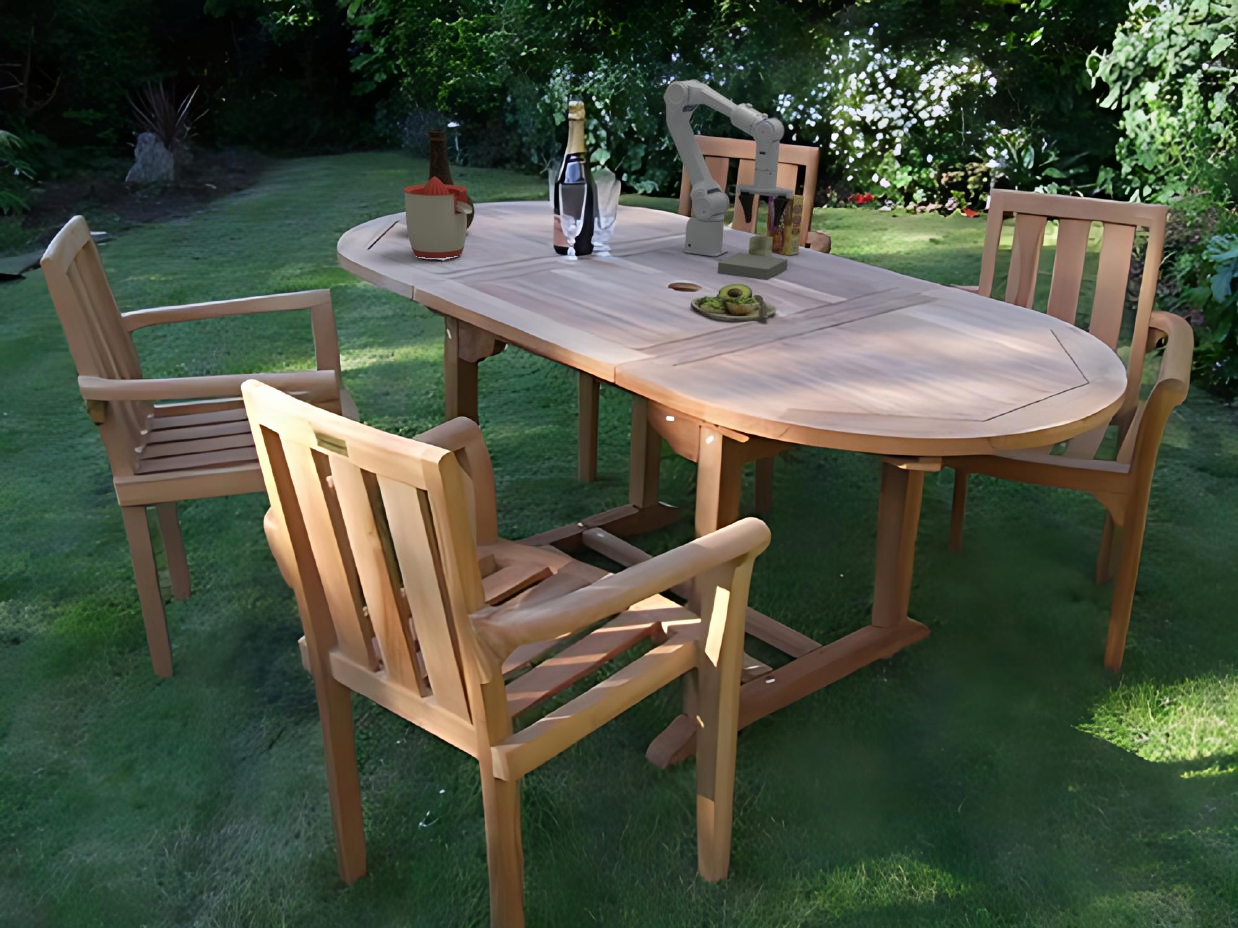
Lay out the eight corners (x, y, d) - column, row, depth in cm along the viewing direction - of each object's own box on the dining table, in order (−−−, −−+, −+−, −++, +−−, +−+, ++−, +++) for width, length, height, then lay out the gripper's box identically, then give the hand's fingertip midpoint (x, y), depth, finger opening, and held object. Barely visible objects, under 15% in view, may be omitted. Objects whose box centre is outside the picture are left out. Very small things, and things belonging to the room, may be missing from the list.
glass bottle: (477, 228, 318) (474, 127, 307) (472, 241, 301) (469, 134, 290) (414, 228, 317) (408, 126, 306) (406, 240, 300) (400, 133, 289)
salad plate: (798, 321, 234) (800, 300, 233) (723, 330, 228) (725, 308, 226) (751, 299, 251) (753, 279, 249) (681, 306, 244) (682, 286, 242)
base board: (717, 272, 273) (718, 262, 272) (738, 262, 283) (739, 253, 282) (767, 279, 267) (767, 269, 266) (786, 269, 278) (787, 259, 277)
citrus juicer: (455, 266, 273) (452, 183, 266) (395, 259, 279) (390, 178, 271) (486, 254, 287) (483, 175, 279) (427, 248, 293) (423, 170, 285)
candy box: (799, 254, 294) (804, 195, 288) (788, 256, 292) (793, 197, 286) (775, 248, 301) (779, 191, 295) (764, 250, 298) (768, 192, 292)
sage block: (748, 261, 285) (749, 238, 283) (754, 258, 289) (756, 235, 287) (764, 263, 283) (766, 240, 281) (771, 260, 287) (772, 237, 285)
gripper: (732, 168, 277) (729, 223, 283) (787, 174, 271) (783, 230, 276) (744, 165, 283) (740, 219, 288) (797, 170, 277) (793, 225, 282)
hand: (762, 224), depth 283 cm, fingers open, 7 cm apart
